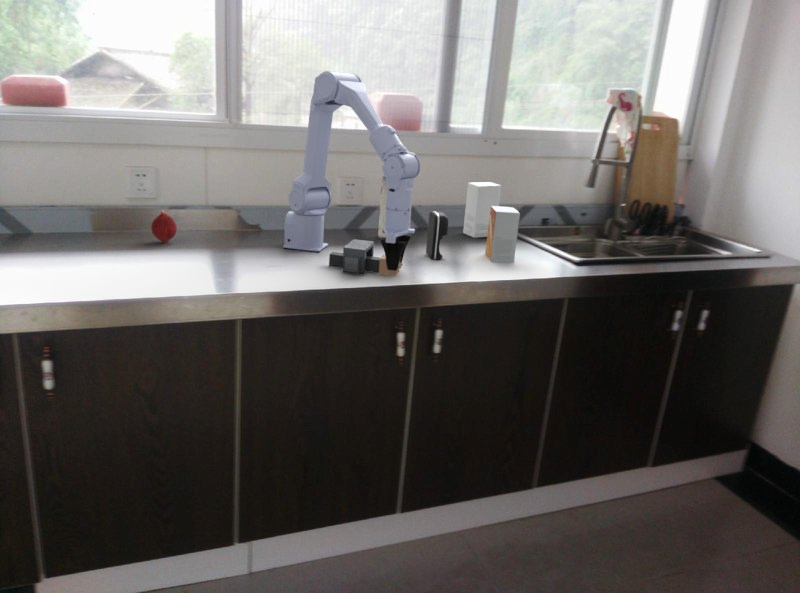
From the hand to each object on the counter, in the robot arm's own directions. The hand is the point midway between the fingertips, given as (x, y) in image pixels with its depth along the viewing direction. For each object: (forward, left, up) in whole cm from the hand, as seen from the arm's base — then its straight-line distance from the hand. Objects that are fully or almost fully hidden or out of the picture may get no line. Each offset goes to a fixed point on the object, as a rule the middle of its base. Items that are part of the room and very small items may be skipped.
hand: (394, 267), depth 147 cm
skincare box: (+16, +52, -2) cm, 54 cm away
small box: (+23, +26, -2) cm, 35 cm away
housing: (-9, 0, -1) cm, 9 cm away
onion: (-58, +2, -2) cm, 58 cm away
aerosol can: (-8, +35, -2) cm, 36 cm away
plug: (-7, 0, -1) cm, 7 cm away
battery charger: (+7, +20, -2) cm, 21 cm away
